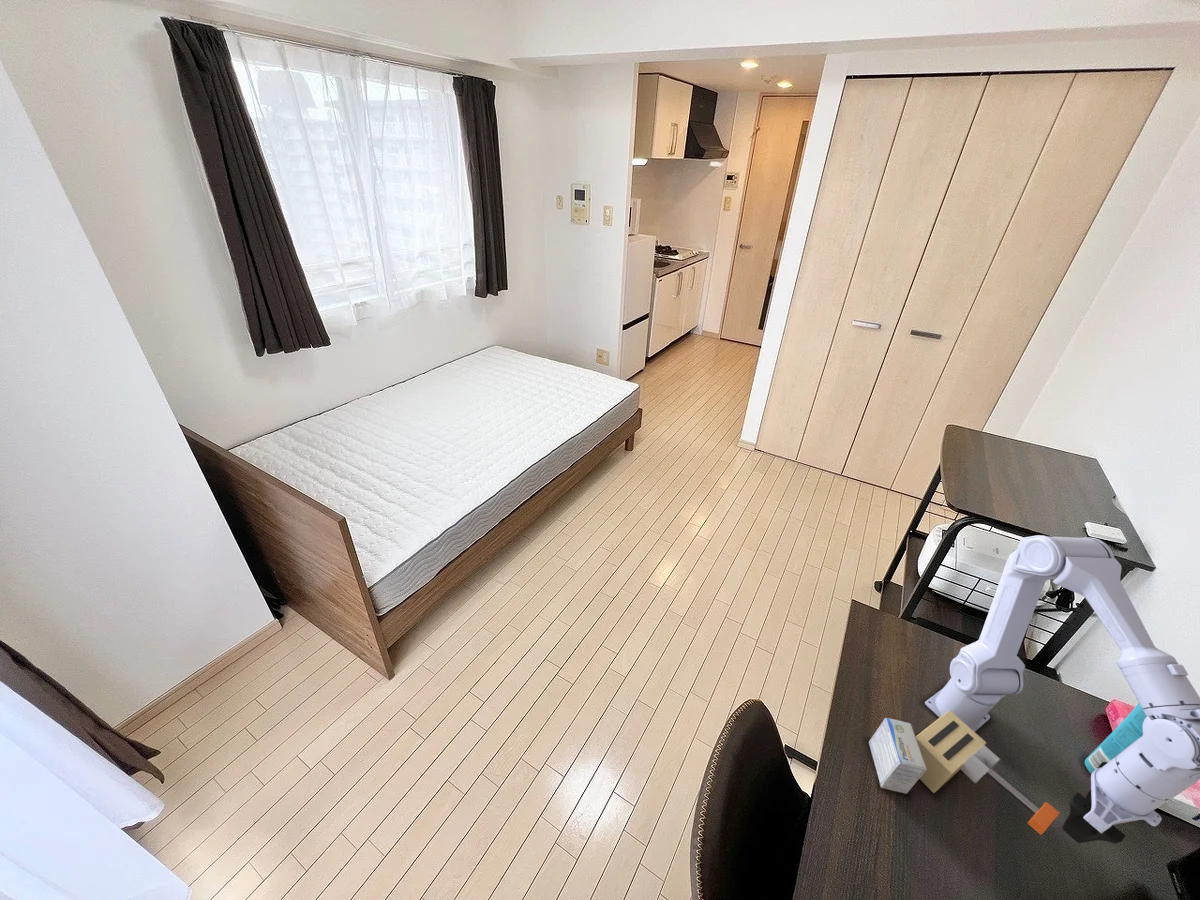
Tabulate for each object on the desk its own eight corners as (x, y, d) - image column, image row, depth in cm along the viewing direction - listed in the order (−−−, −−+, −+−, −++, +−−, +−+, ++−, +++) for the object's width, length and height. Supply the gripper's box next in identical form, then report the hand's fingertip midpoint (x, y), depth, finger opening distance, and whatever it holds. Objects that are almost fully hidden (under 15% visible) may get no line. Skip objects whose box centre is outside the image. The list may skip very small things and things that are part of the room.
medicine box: (906, 795, 82) (928, 770, 78) (879, 788, 83) (899, 763, 78) (892, 747, 89) (912, 722, 84) (867, 741, 89) (885, 716, 85)
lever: (980, 757, 82) (985, 750, 81) (1054, 819, 74) (1060, 812, 73) (966, 770, 80) (970, 764, 79) (1041, 835, 72) (1046, 829, 71)
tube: (1132, 788, 86) (1212, 731, 76) (1116, 798, 84) (1196, 741, 74) (1085, 747, 92) (1154, 688, 82) (1069, 755, 90) (1137, 696, 80)
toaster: (932, 730, 92) (955, 702, 87) (982, 776, 86) (1010, 749, 81) (898, 757, 87) (920, 729, 82) (948, 809, 81) (976, 782, 76)
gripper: (1164, 838, 58) (1094, 879, 65) (1202, 778, 65) (1135, 822, 72) (1093, 780, 63) (1036, 824, 71) (1134, 730, 70) (1078, 775, 77)
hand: (1082, 820), depth 72 cm, fingers open, 7 cm apart
